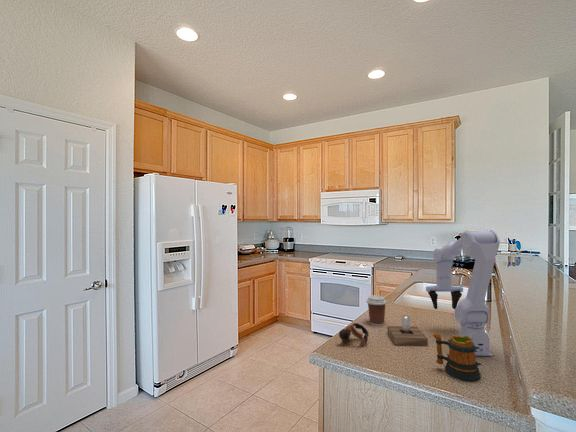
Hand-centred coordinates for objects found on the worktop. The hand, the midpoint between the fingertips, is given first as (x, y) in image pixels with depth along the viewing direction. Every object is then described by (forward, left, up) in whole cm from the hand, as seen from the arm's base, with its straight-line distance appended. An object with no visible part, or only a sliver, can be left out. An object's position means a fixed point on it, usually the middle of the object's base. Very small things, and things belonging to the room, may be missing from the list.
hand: (444, 308), depth 125 cm
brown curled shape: (-14, +41, -10) cm, 44 cm away
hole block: (-10, +19, -9) cm, 23 cm away
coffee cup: (+8, +27, -10) cm, 30 cm away
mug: (-35, +11, -10) cm, 38 cm away
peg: (-10, +19, -9) cm, 23 cm away
